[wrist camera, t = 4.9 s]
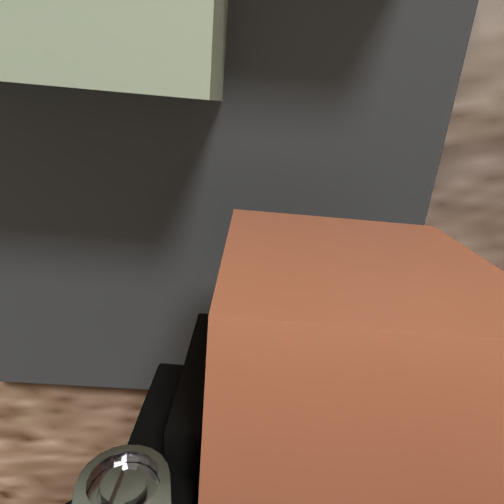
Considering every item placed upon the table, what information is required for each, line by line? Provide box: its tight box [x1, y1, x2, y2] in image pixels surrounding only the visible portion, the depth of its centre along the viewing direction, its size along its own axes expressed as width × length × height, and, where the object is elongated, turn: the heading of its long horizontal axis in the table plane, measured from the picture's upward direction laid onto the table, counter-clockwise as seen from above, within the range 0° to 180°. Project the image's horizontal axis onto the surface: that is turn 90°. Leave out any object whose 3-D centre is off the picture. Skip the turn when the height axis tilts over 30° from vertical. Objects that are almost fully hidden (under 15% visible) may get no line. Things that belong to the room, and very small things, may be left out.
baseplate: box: [0, 0, 478, 390], centre depth 12 cm, size 25×15×1 cm, turn 175°
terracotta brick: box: [198, 209, 504, 504], centre depth 8 cm, size 8×4×5 cm, turn 175°
